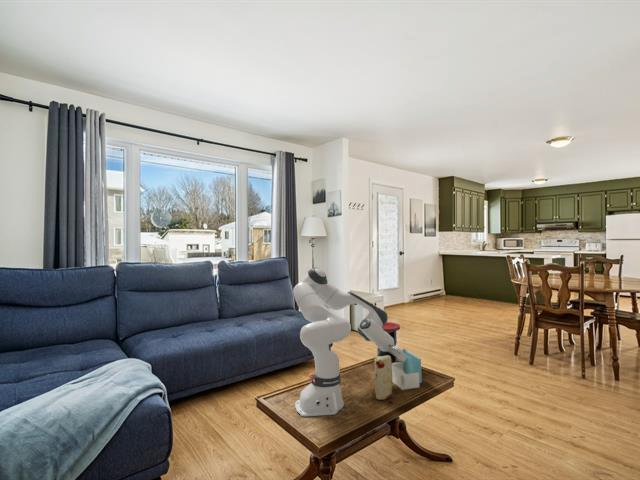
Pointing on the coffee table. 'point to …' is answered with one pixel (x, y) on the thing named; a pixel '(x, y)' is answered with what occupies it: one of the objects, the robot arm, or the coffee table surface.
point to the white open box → (404, 377)
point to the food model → (383, 377)
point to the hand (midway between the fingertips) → (402, 358)
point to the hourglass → (391, 330)
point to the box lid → (412, 364)
